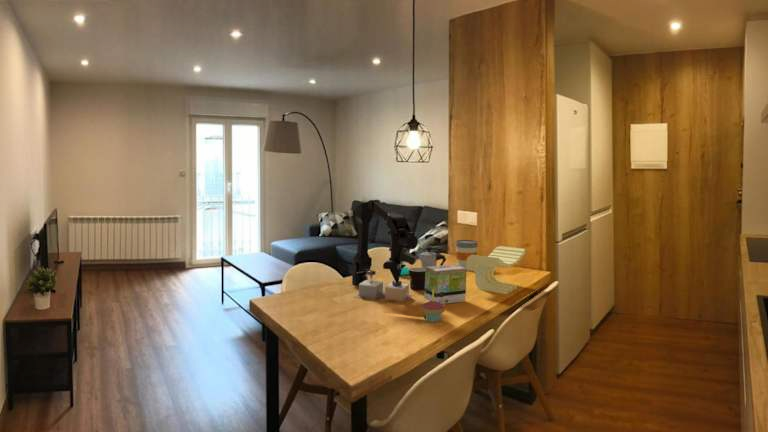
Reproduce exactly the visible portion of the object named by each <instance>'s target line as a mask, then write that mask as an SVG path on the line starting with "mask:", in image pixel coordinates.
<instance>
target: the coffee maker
mask: <svg viewBox="0 0 768 432" xmlns="http://www.w3.org/2000/svg"><path fill="white" fill-rule="evenodd" d="M426 249H427V250H426V251H425V252H420V253H417V256H418V257H417V258H418V259H419V260H420V263H421V268H425V269H426V267H431V266H437V261H440V260H441V261H442V262H441V263H440V264H439V266H442V265H444V264H445V262H446V261H447V258H446V257H445V255H444V254H441V253H439V252H437V253H436V252H433V251H432V246H426Z"/></svg>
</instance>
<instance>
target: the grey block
mask: <svg viewBox="0 0 768 432" xmlns="http://www.w3.org/2000/svg"><path fill="white" fill-rule="evenodd" d="M383 289H384V281H381V280H372V283H370V279H368V280H365V281H363V282H362V283H360V284H359V286H358V294H359V296H360V297H369V298H377V297H379V296H380V295H382V294H383V292H384V290H383Z"/></svg>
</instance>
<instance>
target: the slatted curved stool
mask: <svg viewBox="0 0 768 432" xmlns="http://www.w3.org/2000/svg"><path fill="white" fill-rule="evenodd" d="M525 255H526V248H521V247H513V246H504V245H503V246H502V245H499V246H496V247H495V248H494V249H493V250H492V251H491V252H490V253H489V254H488V255H487V256H486V255H479V254H477V255H470V256H469V257H468V258H467V260H466V269H467V271H469V272H474V277H475V278H474V280H475V281H474V282H475V285H476V288H478V289H479V290H480V291H487V292H492V293H496V294H497V293H498V294H503V295H506V294H509V293H510V292H513V291H514V290H517V289H518V287H517V284H513V283H508V282H505V281H501V280H499V279H497V278H496V276H495V275H494V272H495V269H496V268H506V269H507V268H510V267H512V266H515V265H517V264H519V262H520V261H521V259H523V258H524V256H525Z"/></svg>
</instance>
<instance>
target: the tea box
mask: <svg viewBox="0 0 768 432" xmlns="http://www.w3.org/2000/svg"><path fill="white" fill-rule="evenodd" d="M467 272H468V270H467V269H466V268H463V267H460V266H458V264H457V265H456V264H455V263H454V264H446V265H444V264H443V265H442V266H440V265H436V266H431V267H426V271H425V289H424V297H423V298H424V299H425V300H427V301H432V290H434V301H437V302H440V303H441V304H443V305H445V304H455V303H463V302H464V301H466V294H467V292H466V291H467Z"/></svg>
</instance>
